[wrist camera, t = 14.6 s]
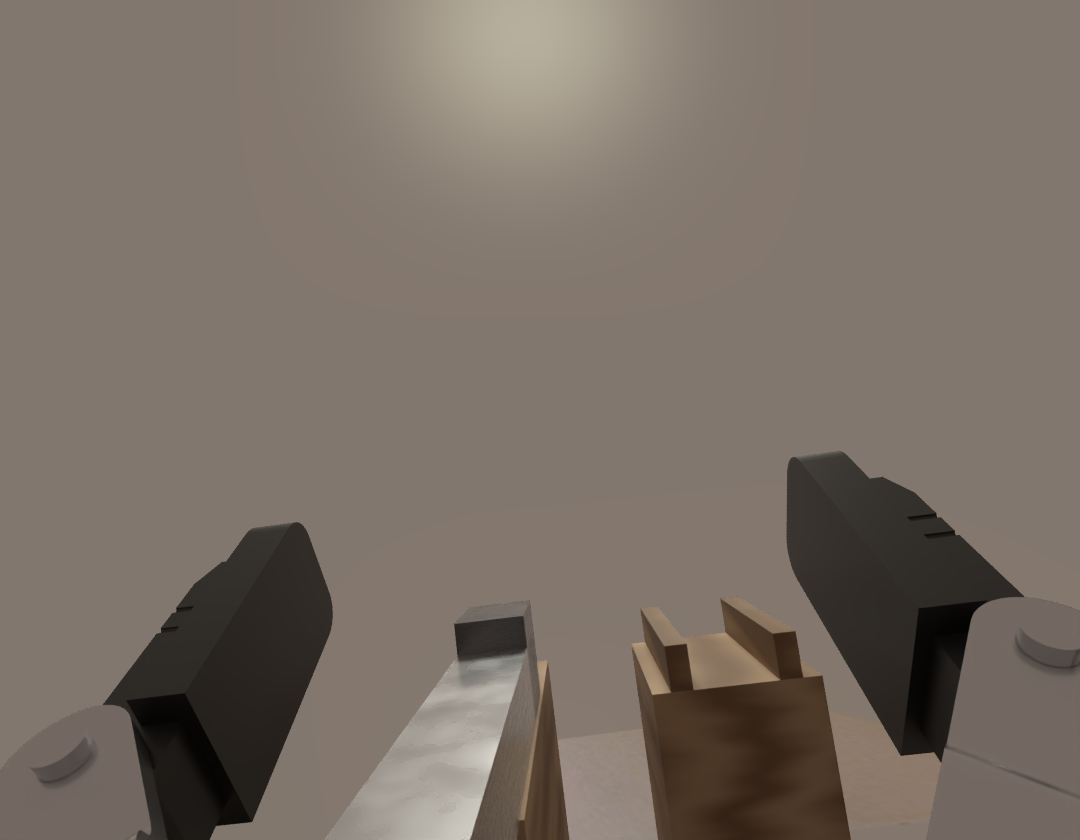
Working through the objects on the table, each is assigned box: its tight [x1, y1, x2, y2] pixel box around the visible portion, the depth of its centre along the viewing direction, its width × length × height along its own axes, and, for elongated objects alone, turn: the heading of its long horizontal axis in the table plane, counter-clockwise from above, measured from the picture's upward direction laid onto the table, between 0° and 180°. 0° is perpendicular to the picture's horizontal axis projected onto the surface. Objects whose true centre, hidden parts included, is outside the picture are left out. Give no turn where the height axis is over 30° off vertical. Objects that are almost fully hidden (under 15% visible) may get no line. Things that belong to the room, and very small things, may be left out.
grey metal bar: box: [324, 600, 541, 840], centre depth 25 cm, size 25×4×5 cm, turn 177°
